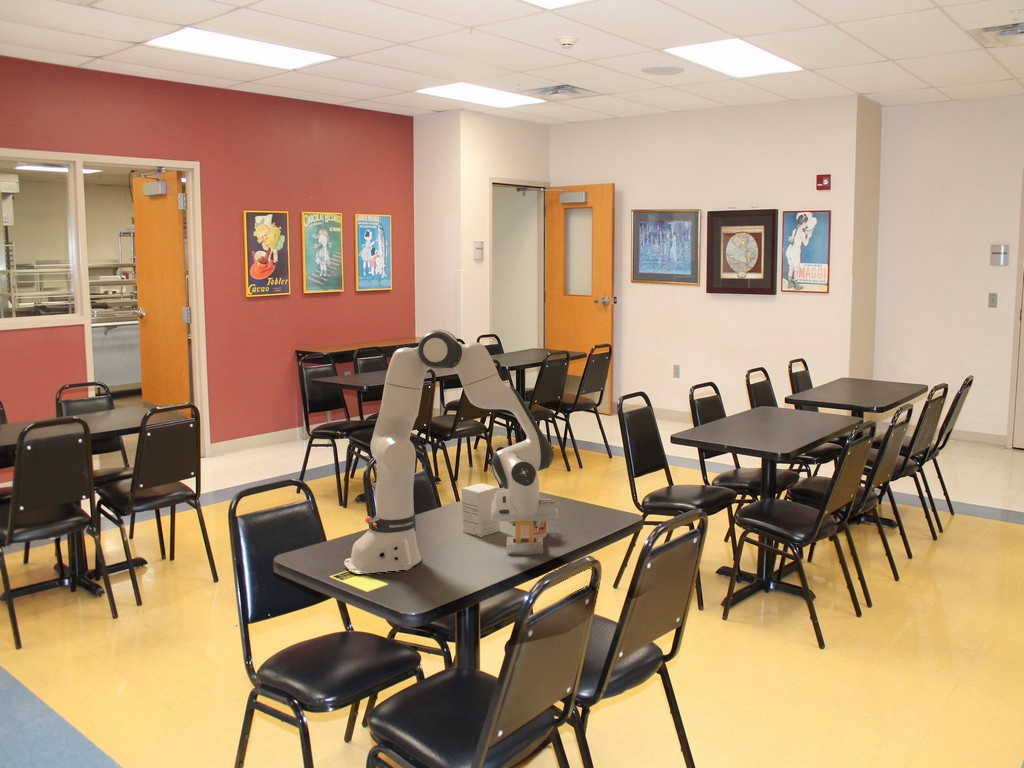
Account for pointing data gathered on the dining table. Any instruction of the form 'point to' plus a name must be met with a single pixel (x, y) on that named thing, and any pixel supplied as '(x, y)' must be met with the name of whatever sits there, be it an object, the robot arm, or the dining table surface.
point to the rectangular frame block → (525, 545)
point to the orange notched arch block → (518, 530)
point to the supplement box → (478, 509)
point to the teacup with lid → (535, 529)
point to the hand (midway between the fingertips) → (524, 523)
